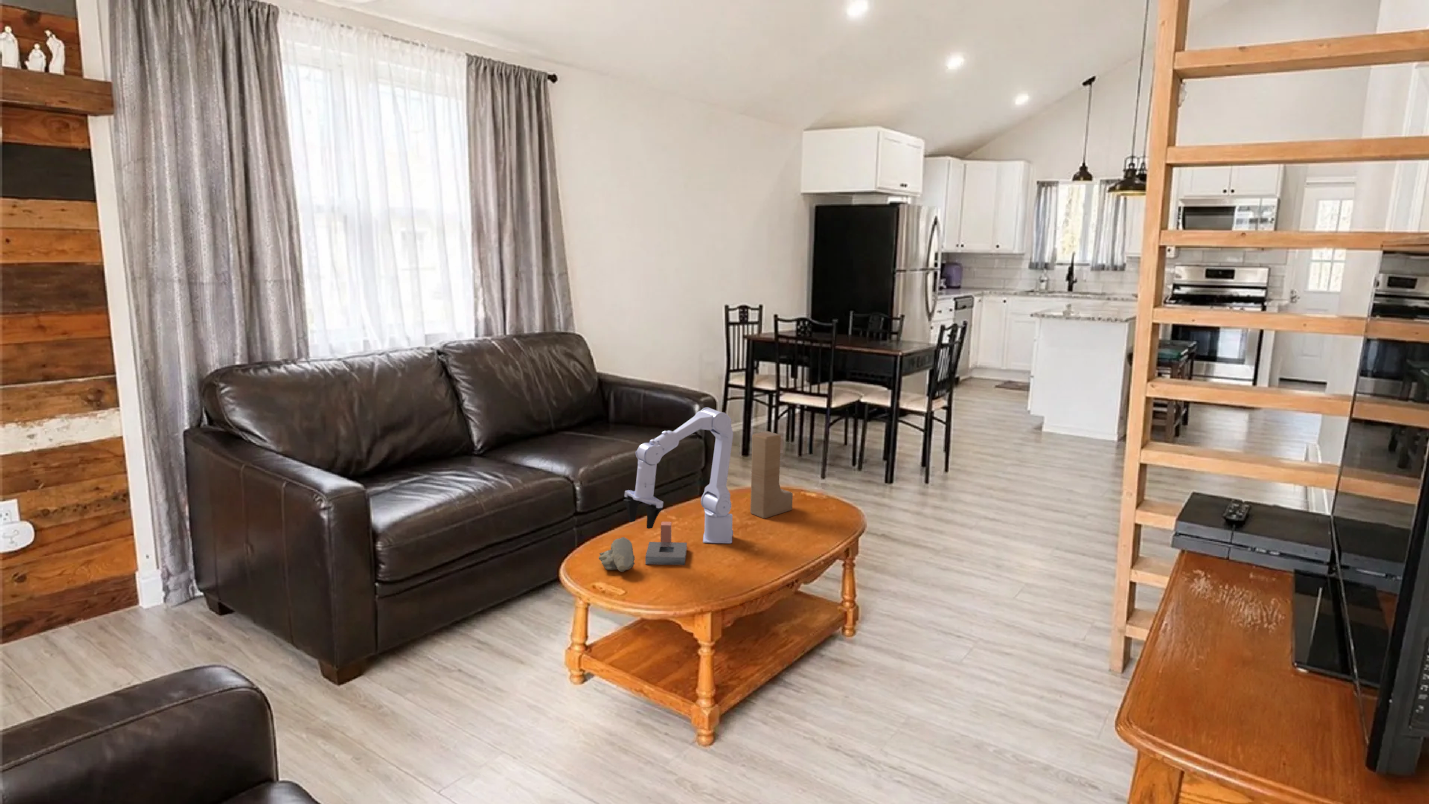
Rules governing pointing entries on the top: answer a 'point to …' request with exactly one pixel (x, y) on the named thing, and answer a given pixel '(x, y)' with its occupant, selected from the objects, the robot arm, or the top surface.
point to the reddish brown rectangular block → (665, 531)
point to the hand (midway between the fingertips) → (640, 524)
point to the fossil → (618, 555)
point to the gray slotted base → (666, 553)
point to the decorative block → (767, 477)
